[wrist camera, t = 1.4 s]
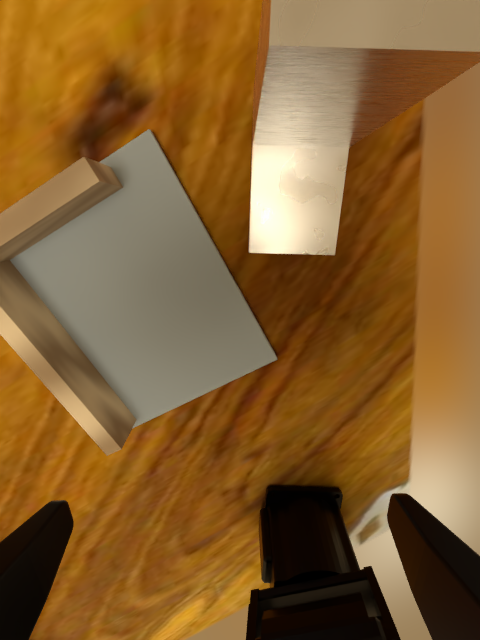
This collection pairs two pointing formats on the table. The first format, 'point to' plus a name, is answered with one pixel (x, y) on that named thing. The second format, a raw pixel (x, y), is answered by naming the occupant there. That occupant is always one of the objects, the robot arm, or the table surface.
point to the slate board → (147, 290)
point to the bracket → (338, 100)
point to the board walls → (37, 320)
